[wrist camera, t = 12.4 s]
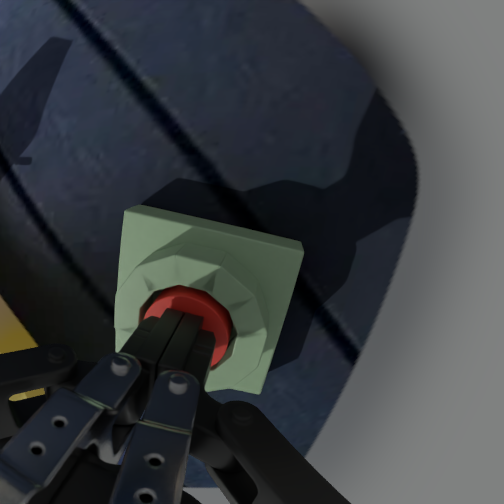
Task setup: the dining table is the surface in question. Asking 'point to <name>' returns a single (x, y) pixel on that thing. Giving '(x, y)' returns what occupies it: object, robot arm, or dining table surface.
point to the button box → (210, 283)
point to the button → (197, 313)
